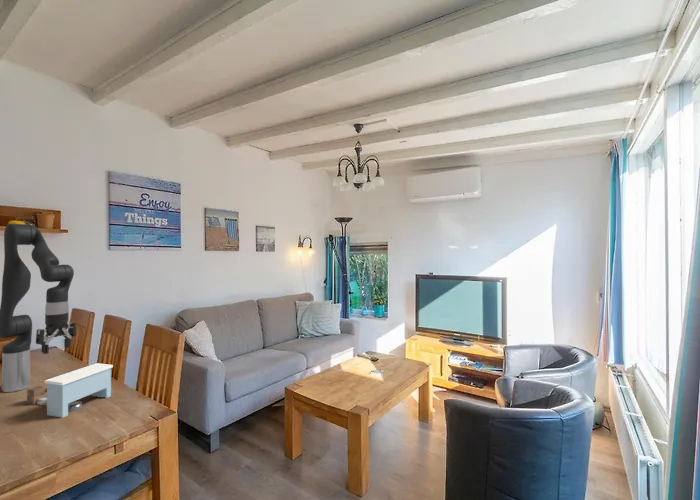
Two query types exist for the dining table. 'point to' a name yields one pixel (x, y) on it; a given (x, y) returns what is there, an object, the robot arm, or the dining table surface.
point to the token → (74, 406)
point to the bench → (77, 387)
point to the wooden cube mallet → (36, 395)
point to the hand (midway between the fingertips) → (56, 350)
